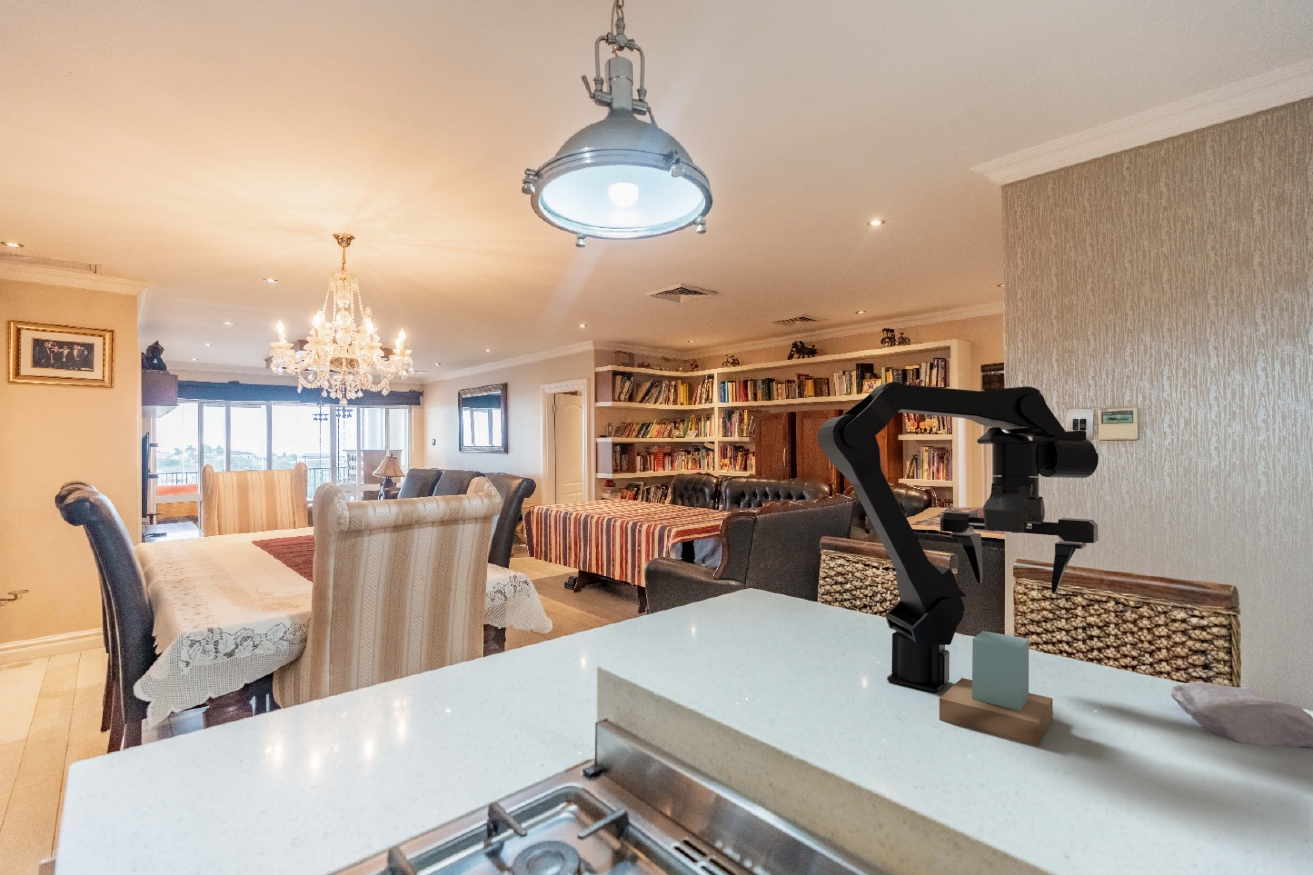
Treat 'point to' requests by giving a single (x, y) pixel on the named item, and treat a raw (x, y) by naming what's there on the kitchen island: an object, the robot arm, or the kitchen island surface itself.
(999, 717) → the walnut base block
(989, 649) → the teal block
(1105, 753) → the kitchen island surface
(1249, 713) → the stone block
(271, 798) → the kitchen island surface
